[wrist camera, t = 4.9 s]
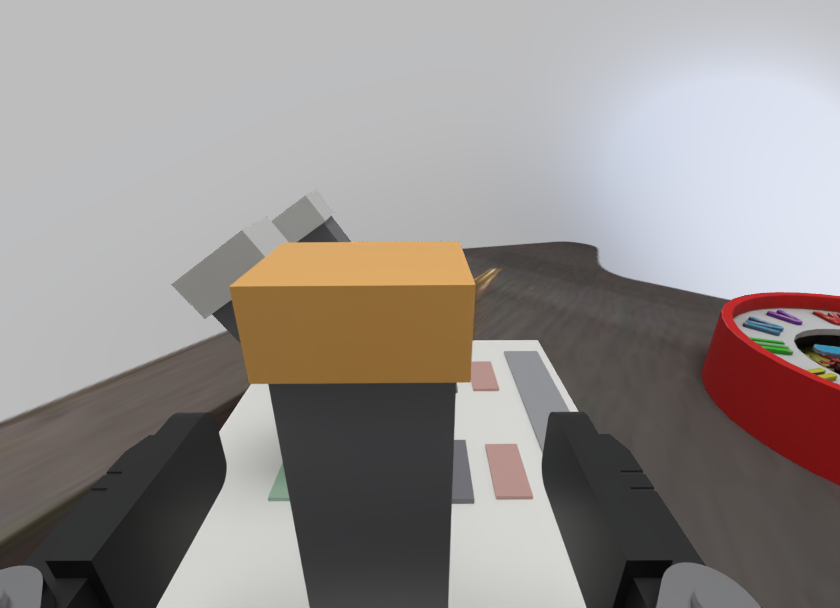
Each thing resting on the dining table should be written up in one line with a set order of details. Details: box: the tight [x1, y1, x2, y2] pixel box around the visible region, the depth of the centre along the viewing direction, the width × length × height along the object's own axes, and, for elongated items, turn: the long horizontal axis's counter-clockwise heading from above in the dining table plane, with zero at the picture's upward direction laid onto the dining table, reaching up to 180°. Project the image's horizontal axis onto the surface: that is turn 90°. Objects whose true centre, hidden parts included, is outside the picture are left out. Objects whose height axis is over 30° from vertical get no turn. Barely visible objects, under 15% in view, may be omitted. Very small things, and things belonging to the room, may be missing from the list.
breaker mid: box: [172, 217, 289, 343], centre depth 17 cm, size 3×3×12 cm
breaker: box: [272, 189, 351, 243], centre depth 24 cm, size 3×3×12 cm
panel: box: [156, 340, 586, 608], centre depth 20 cm, size 20×26×4 cm
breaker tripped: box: [229, 241, 475, 608], centre depth 9 cm, size 3×3×12 cm
